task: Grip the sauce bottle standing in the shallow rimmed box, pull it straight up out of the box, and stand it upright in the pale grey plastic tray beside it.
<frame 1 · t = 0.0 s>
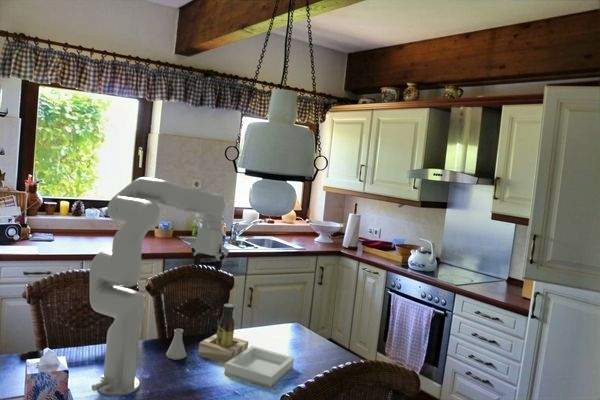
hand: (207, 267, 197), 31 cm above the table, tool pointing down, fingers open, 9 cm apart
tray: (259, 370, 181), on the table
sauce bottle: (222, 355, 192), resting in shallow rimmed box
shallow rimmed box: (222, 354, 192), on the table
flask: (176, 356, 186), on the table
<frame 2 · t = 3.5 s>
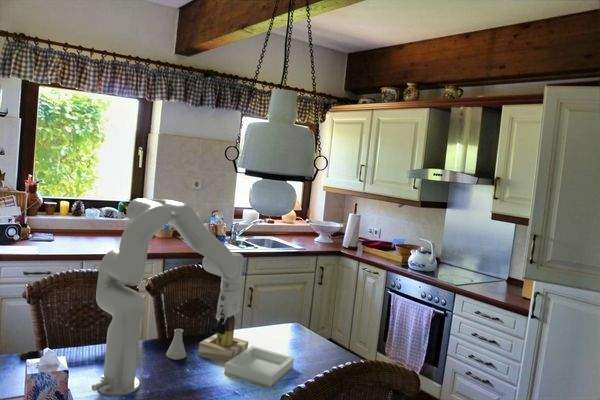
hand: (225, 330, 191), 10 cm above the table, tool pointing down, fingers closed on sauce bottle, 6 cm apart
sauce bottle: (222, 355, 192), resting in shallow rimmed box, touching gripper
everything else where it was.
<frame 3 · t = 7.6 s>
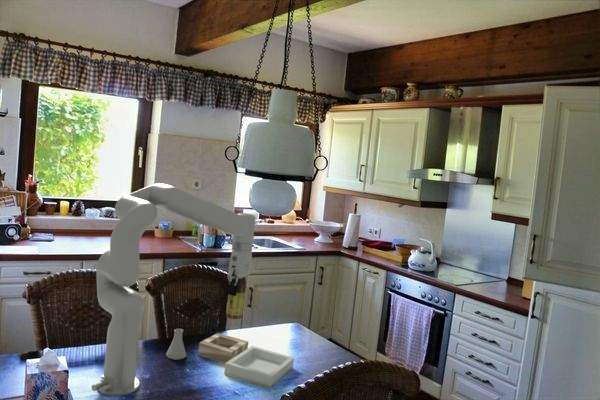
hand: (236, 292, 188), 25 cm above the table, tool pointing down, fingers closed on sauce bottle, 6 cm apart
sauce bottle: (233, 317, 188), point 16 cm above the table, touching gripper
everything else where it was.
when the fingers open (12 cm above the table, at t = 11.8 s): sauce bottle drops 2 cm, resting on tray.
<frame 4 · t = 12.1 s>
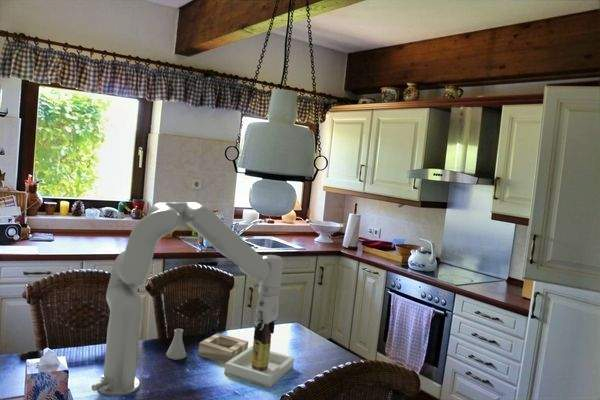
hand: (263, 336, 180), 13 cm above the table, tool pointing down, fingers open, 8 cm apart
sauce bottle: (259, 368, 181), point 1 cm above the table, touching tray
everything else where it was.
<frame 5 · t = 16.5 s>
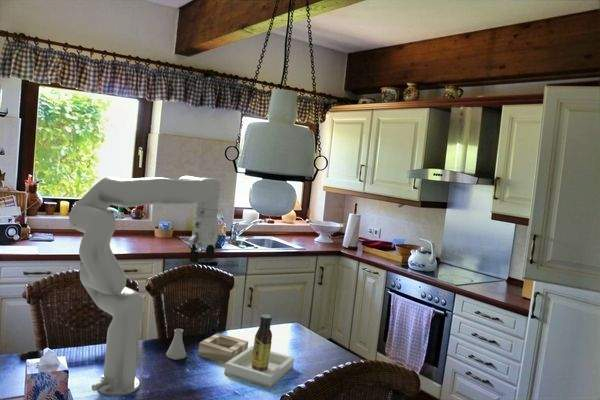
hand: (201, 260, 177), 38 cm above the table, tool pointing down, fingers open, 9 cm apart
nothing on the table moved.
at the end: sauce bottle inside the target area on the tray (0.1 cm from its centre), point 0.8 cm above the tray's base; sauce bottle tilted 0°; the gripper is holding nothing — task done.
